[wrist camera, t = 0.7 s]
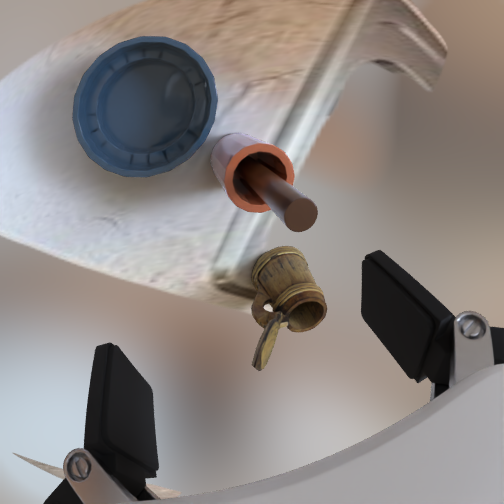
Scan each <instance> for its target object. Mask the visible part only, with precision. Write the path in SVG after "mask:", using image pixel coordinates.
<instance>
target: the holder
mask: <svg viewBox="0 0 504 504" xmlns="http://www.w3.org/2000/svg"><path fill="white" fill-rule="evenodd" d="M247 155H249V156H250V157H252V158H253V159H255V160H256V161H257V162H259V163H260V164H262V165H263V166H265V167H266V168H268V169H269V170H271V171H272V172H273V173H275V174H276V175H278V176H279V177H280V178H282V179H283V180H285V181H286V182H287V183H289V184H290V185H292V186H293V182H294V170H293V165H292V162H291V161H290V159H289V158H288V156H287V155H286V153H285V152H284V151H282V150H281V149H279V148H277V147H276V146H274V145H272V144H270V143H267V142H265V141H262V140H260V139H257V138H255V137H252V136H250V135H247V134H242V133H233V134H229V135H227V136H225V137H223V138H221V139H220V140H219V141H218V142H217V143H216V145H215V146H214V148H213V150H212V153H211V166H212V169H213V172H214V174H215V175H216V177H217V179H218V180H219V182H220V184H221V185H222V187H223V189H224V190H225V192H226V194H227V195H228V197H229V198H230V199H231V200H232V202H233V203H234V204H235V205H236V206H237V207H239V208H241V209H243V210H245V211H247V212H258V213H262V212H265V211H269V210H271V208H270V207H269V206H268V205H267V204H266V203H265V202H264V201H263V200H262V199H261V198H260V196H259V195H258V194H257V193H256V192H255V191H254V190H253V189H252V188H251V187H250V186H249V185H248V184H247V182H246V181H245V180H244V179H243V178H242V177H241V176H240V175H239V174H238V173H237V172H236V171H235V169H236V167H237V165H238V164H239V162H240V161H241V160H242V159H244V158H245V157H246V156H247Z"/></svg>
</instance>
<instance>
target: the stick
mask: <svg viewBox="0 0 504 504" xmlns="http://www.w3.org/2000/svg"><path fill="white" fill-rule="evenodd" d="M235 171H236V172H237V173H238V174H239V175H240V176H241V177H242V178H243V179H244V180H245V181H246V182H247V184H248V185H249V186H250V187H251V188H252V189H253V190H254V191H255V192H256V193H257V194H258V195H259V196H260V198H261V199H262V200H263V201H264V202H265V203H266V204H267V205H268V206H269V207H270V208H271V210H272V211H273V212H274V213H275V214H276V215H277V216H278V217H279V218H280V219H281V221H282V222H283V223H284V224H285V225H286V226H287V227H288V228H289V229H290V230H292V231H295V232H302V231H305V230H307V229H309V228H310V227H311V226H312V225H313V224H314V223H315V220H316V219H317V215H318V211H317V206H316V204H315V203H314V202H313V201H312V200H311V199H309V198H308V197H307V196H305V195H304V194H303V193H301V192H300V191H299V190H297V189H296V188H294V187H293V186H292V185H290V184H289V183H287V182H286V181H285V180H283V179H282V178H280V177H279V176H278V175H276V174H275V173H273V172H272V171H271V170H269V169H268V168H266V167H265V166H263V165H262V164H260V163H259V162H257V161H256V160H255V159H253V158H252V157H250V156H249V155H247V156H246V157H245V158H244V159H242V160H241V161H240V162H239V164H238V165H237V167H236V169H235Z"/></svg>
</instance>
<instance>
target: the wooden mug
mask: <svg viewBox="0 0 504 504" xmlns="http://www.w3.org/2000/svg"><path fill="white" fill-rule="evenodd" d="M251 278H252V282H253V285H254V287H255V288H256V290H257V292H258V293H257V295H256V297H255V299H254V302H253V305H252V308H251V309H252V315H253V317H254V319H255V320H256V322H257V323H258V324H259V325H260V326H261V327H263V328H264V331H263V333H262V336H261V338H260V340H259V343H258V345H257V348H256V351H255V354H254V358H253V362H252V366H253V367H255V368H256V369H257V370H258V371H261V370H262V369H264V367H265V366H266V364H267V362H268V359H269V357H270V355H271V352H272V349H273V347H274V344H275V340H276V337H277V334H278V330H279V329H280V328H283V327H287V328H288V329H289V330H291V331H292V332H304V331H308V330H311V329H313V328H315V327H316V326H317V325H318V324H319V323H320V322H321V321H322V320H323V319H324V318H325V316H326V312H327V305H326V303H325V299H324V295H323V292H322V290H321V288H320V287H318V286H317V285H316V283H315V281H314V279H313V277H312V275H311V273H310V271H309V269H308V264H307V262H306V260H305V258H304V256H303V254H302V253H301V252H300V251H299V250H298V249H296V248H294V247H291V246H282V247H277V248H274V249H272V250H270V251H268V252H266V253H264V254H263V255H262V256H261V257H260V258H259V259H258V261H257V262H256V264H255V266H254V269H253V272H252V277H251ZM268 303H269V304H270V305H271V307H272V308H273V312H268V311H266V310H265V309H264V308H263V307H264V305H266V304H268Z"/></svg>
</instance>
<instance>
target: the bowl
mask: <svg viewBox="0 0 504 504" xmlns="http://www.w3.org/2000/svg"><path fill="white" fill-rule="evenodd" d="M217 102H218V96H217V91H216V85H215V80H214V76H213V74H212V73H211V71H210V69H209V67H208V66H207V64H206V62H205V61H204V59H203V58H202V57H201V56H200V55H199V54H197V53H196V52H195V51H194V50H193V49H191V48H190V47H189V46H188V45H186V44H184V43H181V42H179V41H176V40H173V39H170V38H167V37H157V36H142V37H137V38H134V39H131V40H127V41H124V42H121V43H118V44H117V45H115V46H113V47H112V48H110V49H109V50H107V51H106V52H104V53H103V54H101V55H100V56H99V57H98V58H97V59H96V60H95V61H94V63H93V64H92V65H91V66H90V67H89V69H88V70H87V71H86V72H85V73H84V75H83V77H82V79H81V81H80V84H79V86H78V88H77V91H76V93H75V97H74V105H73V117H72V118H73V123H74V127H75V132H76V136H77V139H78V141H79V143H80V144H81V146H82V147H83V149H84V150H85V152H86V154H87V155H88V157H89V158H91V159H92V160H93V161H94V162H96V163H97V164H98V165H100V166H101V167H102V168H103V169H105V170H107V171H110V172H113V173H116V174H119V175H122V176H125V177H150V176H153V175H157V174H160V173H164V172H168V171H170V170H172V169H173V168H175V167H177V166H178V165H180V164H181V163H183V162H185V161H186V160H188V159H189V158H190V157H191V156H192V155H193V154H194V153H195V152H196V151H197V149H198V148H199V147H200V146H201V145H202V144H203V143H204V141H205V140H206V138H207V136H208V134H209V132H210V130H211V128H212V125H213V123H214V121H215V115H216V109H217Z"/></svg>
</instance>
